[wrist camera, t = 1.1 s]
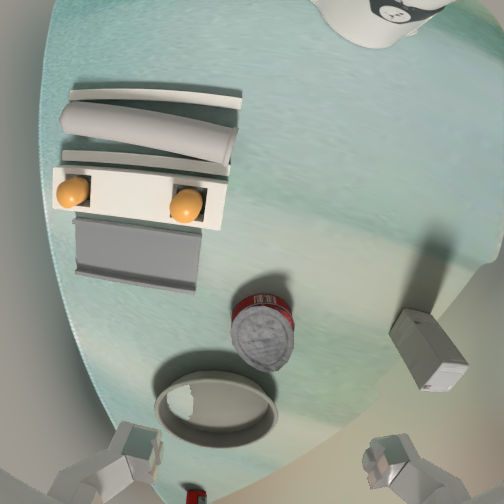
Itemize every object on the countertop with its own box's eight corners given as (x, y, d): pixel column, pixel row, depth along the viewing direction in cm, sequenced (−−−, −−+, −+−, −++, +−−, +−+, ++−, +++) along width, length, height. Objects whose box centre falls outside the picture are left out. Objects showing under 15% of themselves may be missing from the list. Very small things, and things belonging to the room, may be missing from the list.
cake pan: (222, 341, 49) (221, 359, 45) (297, 407, 57) (301, 422, 53) (134, 393, 53) (129, 408, 49) (212, 444, 61) (212, 458, 57)
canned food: (247, 326, 53) (222, 365, 46) (239, 281, 49) (208, 320, 41) (307, 338, 49) (288, 382, 41) (306, 291, 44) (285, 336, 36)
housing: (74, 91, 32) (62, 88, 29) (242, 99, 35) (242, 95, 32) (64, 203, 38) (52, 208, 35) (221, 223, 41) (220, 230, 38)
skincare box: (430, 313, 50) (474, 361, 35) (413, 342, 52) (450, 393, 38) (402, 305, 49) (446, 359, 34) (384, 337, 51) (420, 394, 36)
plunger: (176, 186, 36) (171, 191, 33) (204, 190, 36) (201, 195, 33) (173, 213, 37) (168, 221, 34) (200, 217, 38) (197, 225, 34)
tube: (52, 139, 31) (225, 174, 35) (53, 103, 28) (236, 133, 32) (72, 127, 35) (230, 158, 39) (74, 94, 32) (240, 122, 36)
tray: (76, 217, 39) (72, 219, 38) (201, 234, 42) (200, 237, 40) (78, 270, 42) (75, 274, 41) (195, 289, 45) (194, 294, 43)
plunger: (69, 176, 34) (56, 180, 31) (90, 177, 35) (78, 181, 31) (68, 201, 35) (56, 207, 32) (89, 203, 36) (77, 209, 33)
